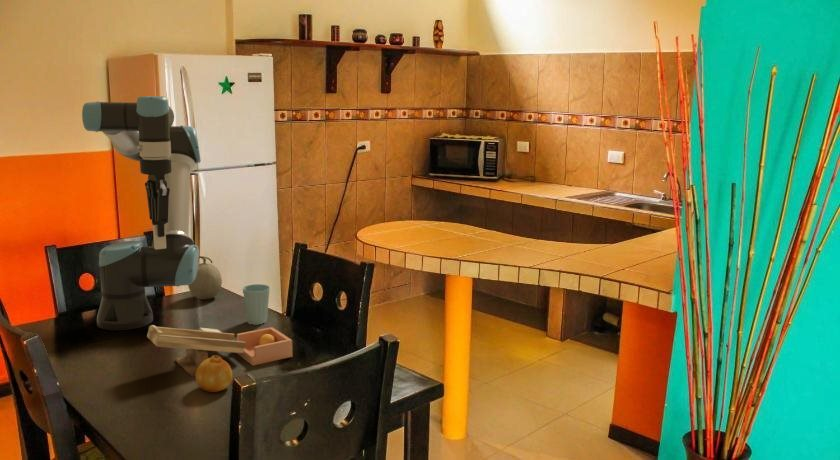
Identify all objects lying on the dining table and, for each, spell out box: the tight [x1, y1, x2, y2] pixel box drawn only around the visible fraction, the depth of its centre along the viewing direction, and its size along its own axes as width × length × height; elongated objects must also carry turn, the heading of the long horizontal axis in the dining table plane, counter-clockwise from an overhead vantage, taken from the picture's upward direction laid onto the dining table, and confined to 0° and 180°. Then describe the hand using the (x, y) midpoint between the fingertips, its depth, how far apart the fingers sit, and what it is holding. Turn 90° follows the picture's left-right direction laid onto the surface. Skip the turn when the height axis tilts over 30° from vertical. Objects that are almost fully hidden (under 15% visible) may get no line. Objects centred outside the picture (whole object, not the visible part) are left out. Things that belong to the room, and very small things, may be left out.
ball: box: [259, 334, 275, 345], centre depth 195 cm, size 4×4×4 cm
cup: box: [242, 283, 271, 326], centre depth 216 cm, size 8×8×10 cm
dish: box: [235, 326, 293, 367], centre depth 192 cm, size 12×11×4 cm
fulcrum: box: [175, 349, 210, 377], centre depth 184 cm, size 12×7×5 cm, turn 36°
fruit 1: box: [187, 255, 223, 300], centre depth 238 cm, size 10×12×15 cm
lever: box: [146, 324, 246, 354], centre depth 187 cm, size 17×22×3 cm
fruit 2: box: [194, 354, 233, 393], centre depth 170 cm, size 8×8×8 cm
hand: (160, 248), depth 193 cm, fingers closed
